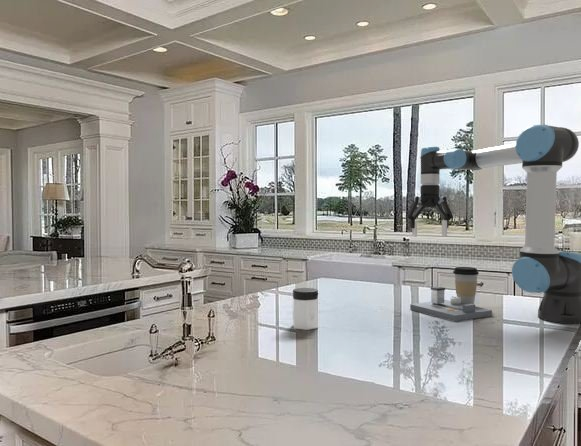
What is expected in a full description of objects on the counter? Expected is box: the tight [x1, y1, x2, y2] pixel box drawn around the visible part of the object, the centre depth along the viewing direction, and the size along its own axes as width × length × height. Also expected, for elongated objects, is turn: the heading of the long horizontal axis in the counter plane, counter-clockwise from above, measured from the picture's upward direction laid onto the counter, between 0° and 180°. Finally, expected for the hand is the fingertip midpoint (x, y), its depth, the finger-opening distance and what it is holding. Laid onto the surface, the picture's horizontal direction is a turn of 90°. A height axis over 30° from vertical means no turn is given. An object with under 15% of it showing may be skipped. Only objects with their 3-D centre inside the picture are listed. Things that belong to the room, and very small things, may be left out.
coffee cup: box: [452, 266, 479, 304], centre depth 188 cm, size 9×9×15 cm
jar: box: [292, 287, 319, 331], centre depth 158 cm, size 9×8×12 cm
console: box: [409, 295, 493, 322], centre depth 179 cm, size 22×18×5 cm
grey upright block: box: [430, 286, 446, 304], centre depth 184 cm, size 3×4×6 cm
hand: (429, 236), depth 202 cm, fingers open, 13 cm apart
